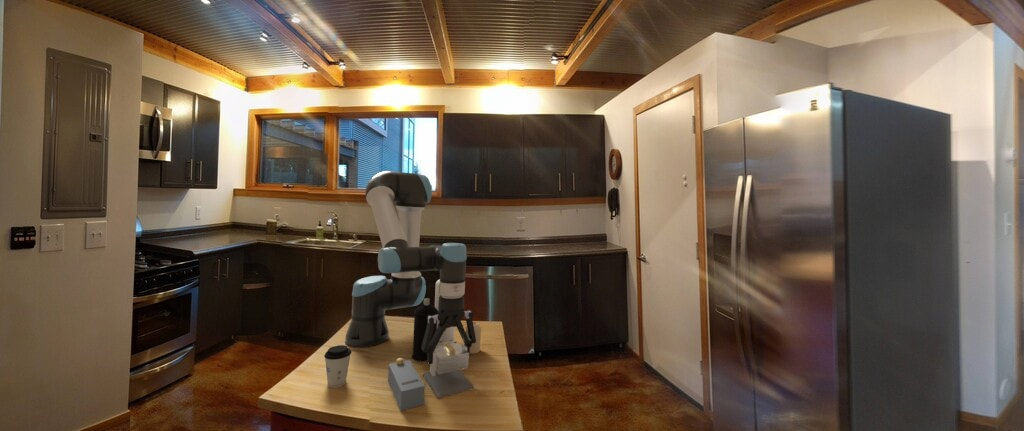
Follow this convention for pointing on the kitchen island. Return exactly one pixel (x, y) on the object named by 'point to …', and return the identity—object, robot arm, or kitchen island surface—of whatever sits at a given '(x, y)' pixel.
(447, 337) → the bottle
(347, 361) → the coffee cup
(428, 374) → the rubber mat
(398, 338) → the kitchen island surface
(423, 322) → the aerosol can
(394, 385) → the block plane
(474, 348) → the candle
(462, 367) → the lever cap
